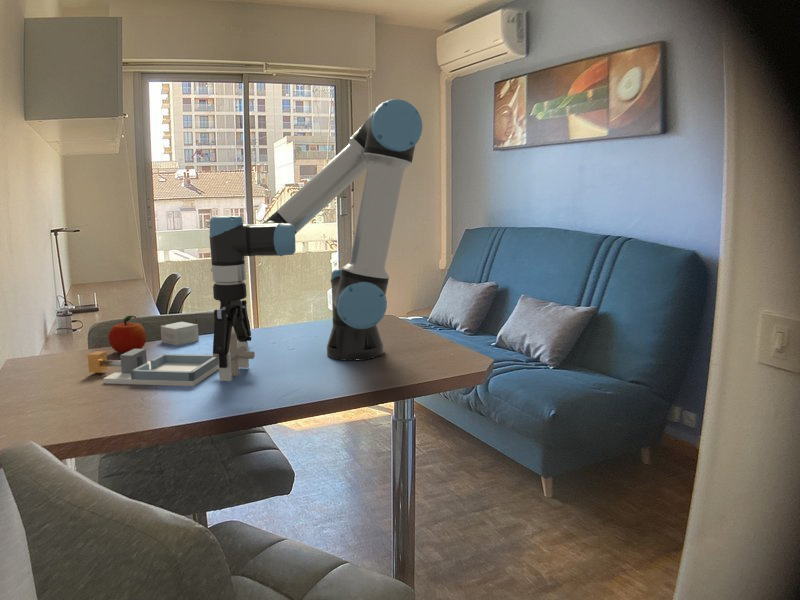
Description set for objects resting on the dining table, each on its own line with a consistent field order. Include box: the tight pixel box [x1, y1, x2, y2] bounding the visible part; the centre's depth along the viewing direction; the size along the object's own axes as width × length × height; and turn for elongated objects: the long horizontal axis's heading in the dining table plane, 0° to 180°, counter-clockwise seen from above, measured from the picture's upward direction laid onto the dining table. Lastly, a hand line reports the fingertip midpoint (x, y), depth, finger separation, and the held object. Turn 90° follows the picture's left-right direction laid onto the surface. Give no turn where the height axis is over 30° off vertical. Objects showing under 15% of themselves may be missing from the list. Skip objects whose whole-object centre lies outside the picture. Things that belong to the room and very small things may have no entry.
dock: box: [102, 348, 219, 387], centre depth 152 cm, size 22×15×6 cm
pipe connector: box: [212, 333, 256, 377], centre depth 151 cm, size 10×10×10 cm
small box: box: [160, 321, 200, 347], centre depth 186 cm, size 8×8×5 cm
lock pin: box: [87, 350, 121, 374], centre depth 153 cm, size 11×3×4 cm, turn 82°
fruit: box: [108, 315, 147, 355], centre depth 174 cm, size 10×10×10 cm
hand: (234, 373), depth 152 cm, fingers closed on pipe connector, 10 cm apart
